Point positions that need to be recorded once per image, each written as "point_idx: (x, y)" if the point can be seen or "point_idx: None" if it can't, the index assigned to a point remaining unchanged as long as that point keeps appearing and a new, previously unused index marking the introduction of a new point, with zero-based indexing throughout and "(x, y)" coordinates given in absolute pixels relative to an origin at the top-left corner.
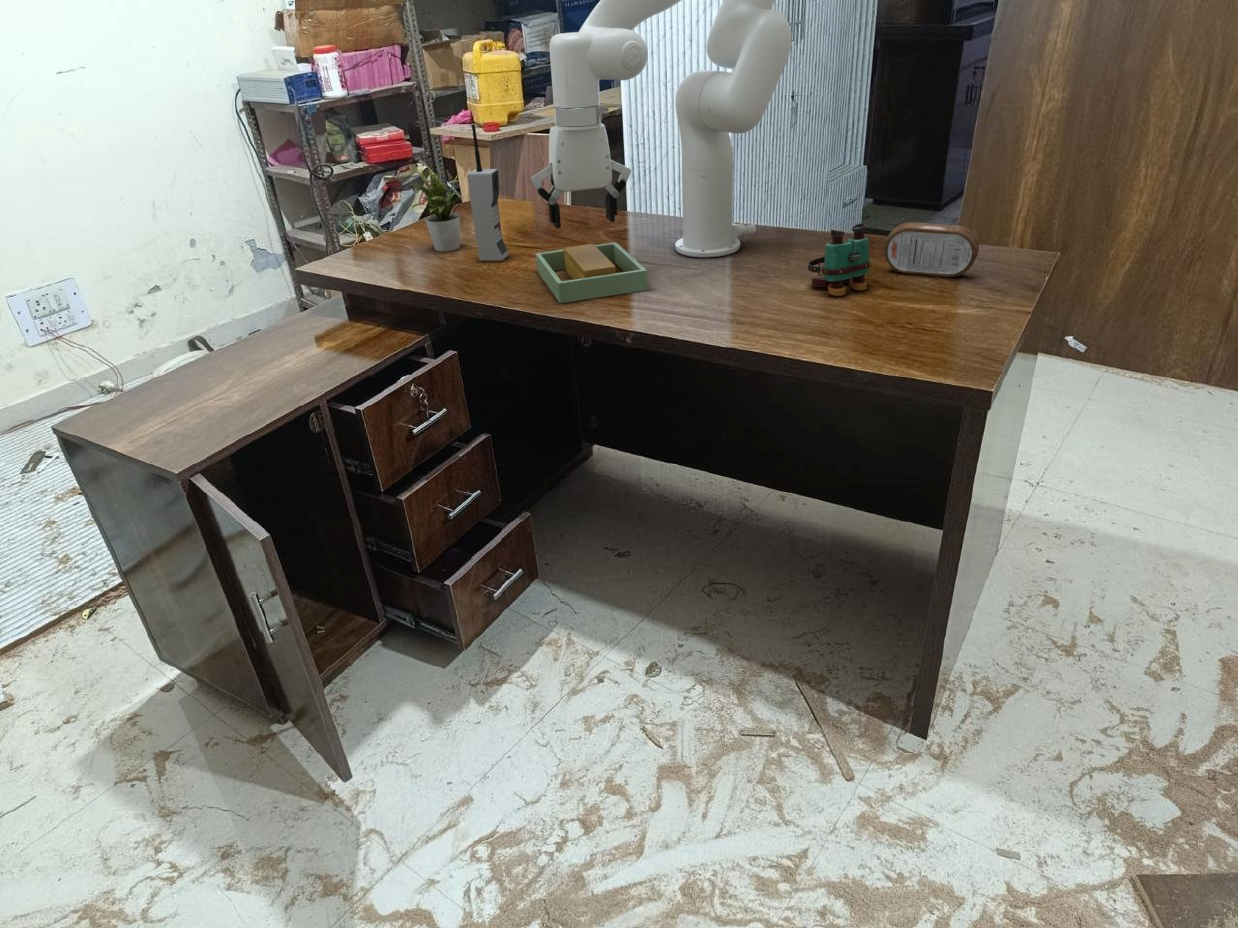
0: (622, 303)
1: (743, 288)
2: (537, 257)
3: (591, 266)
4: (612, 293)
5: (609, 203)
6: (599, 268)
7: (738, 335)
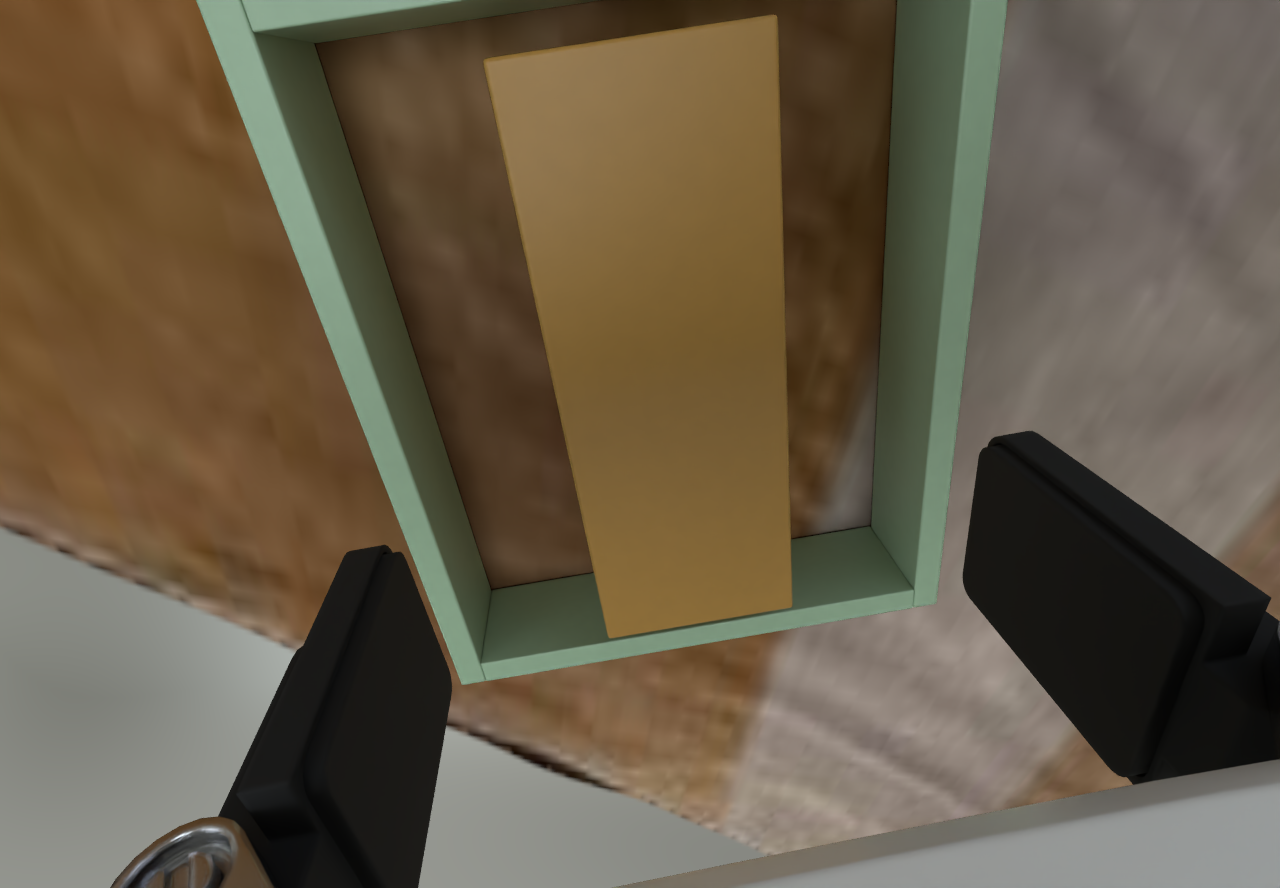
0: (741, 648)
1: None
2: (235, 89)
3: (661, 586)
4: None
5: (1091, 717)
6: (699, 621)
7: None
